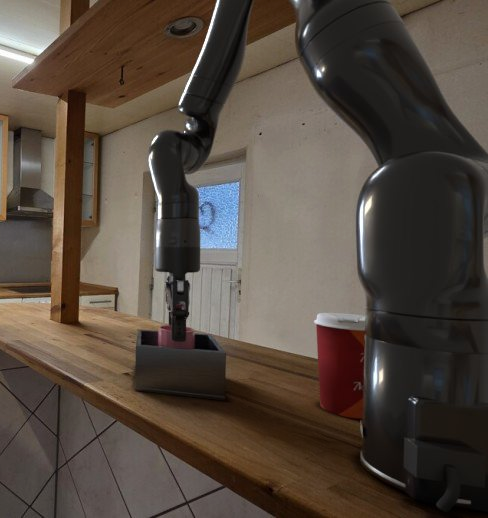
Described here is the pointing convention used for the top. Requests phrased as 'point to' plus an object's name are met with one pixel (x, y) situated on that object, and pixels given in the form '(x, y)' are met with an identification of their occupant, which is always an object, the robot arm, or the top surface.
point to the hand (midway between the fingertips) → (176, 335)
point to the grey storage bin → (180, 367)
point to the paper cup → (341, 362)
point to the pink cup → (167, 341)
